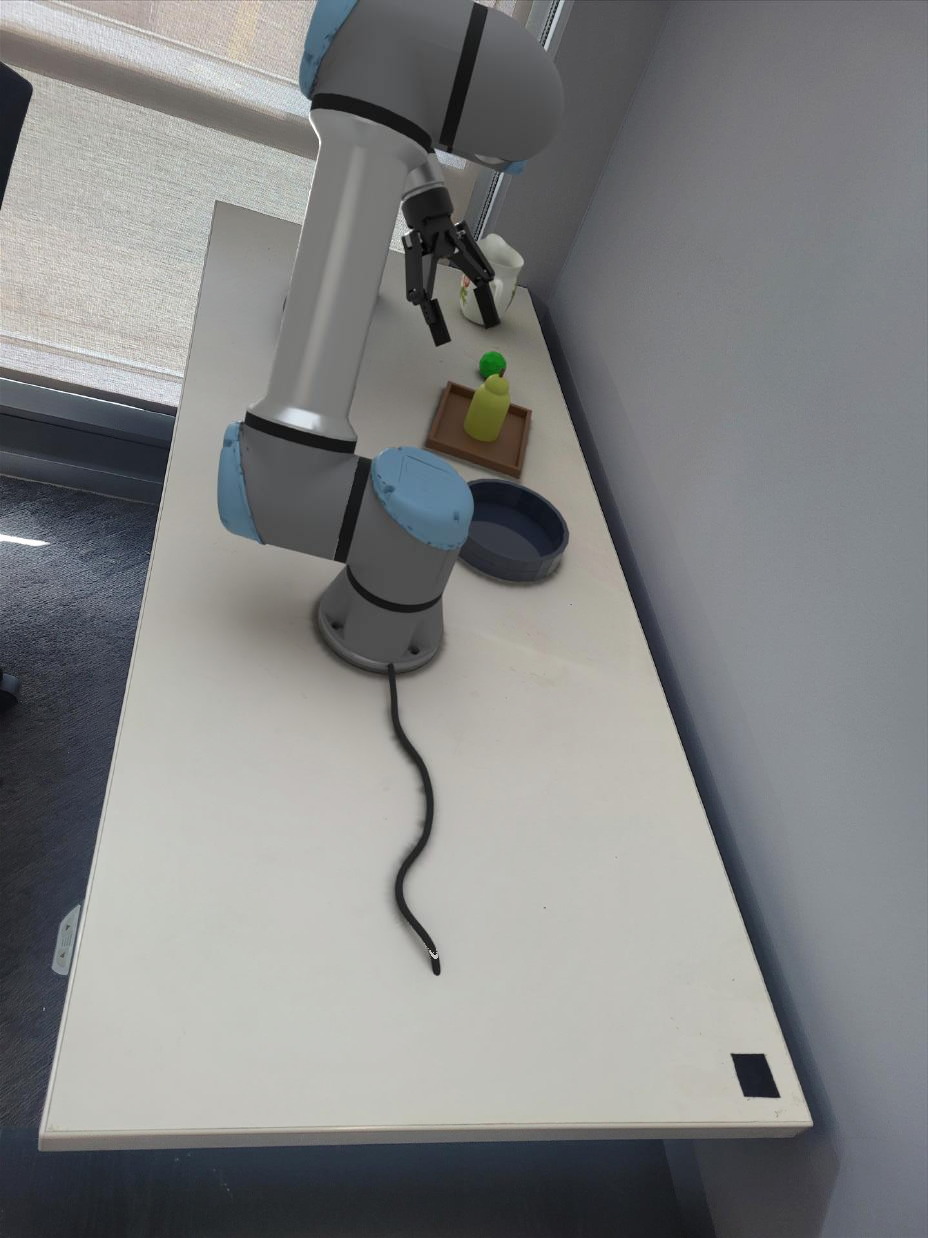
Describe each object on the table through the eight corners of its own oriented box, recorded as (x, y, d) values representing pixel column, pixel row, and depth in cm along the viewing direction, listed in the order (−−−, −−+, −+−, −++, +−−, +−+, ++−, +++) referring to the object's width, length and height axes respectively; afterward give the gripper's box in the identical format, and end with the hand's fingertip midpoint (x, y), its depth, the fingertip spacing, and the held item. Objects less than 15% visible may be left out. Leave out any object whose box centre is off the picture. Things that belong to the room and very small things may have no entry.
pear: (495, 446, 135) (519, 383, 127) (460, 433, 135) (483, 370, 127) (499, 427, 140) (523, 365, 131) (466, 415, 139) (488, 353, 131)
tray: (517, 481, 131) (521, 471, 130) (424, 449, 130) (428, 438, 128) (528, 420, 145) (532, 410, 144) (444, 390, 144) (448, 380, 142)
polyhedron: (506, 381, 153) (515, 358, 149) (489, 386, 149) (497, 363, 146) (487, 367, 154) (495, 344, 151) (470, 371, 151) (478, 348, 148)
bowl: (553, 599, 114) (565, 577, 111) (433, 559, 112) (442, 535, 109) (561, 524, 127) (572, 502, 124) (453, 487, 125) (461, 464, 122)
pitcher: (457, 334, 160) (478, 266, 150) (449, 291, 172) (468, 226, 162) (510, 347, 163) (534, 281, 153) (498, 304, 175) (520, 240, 166)
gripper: (453, 196, 135) (494, 326, 141) (350, 212, 118) (403, 359, 124) (488, 177, 130) (529, 312, 136) (386, 191, 113) (439, 345, 119)
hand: (469, 335), depth 130 cm, fingers open, 13 cm apart
